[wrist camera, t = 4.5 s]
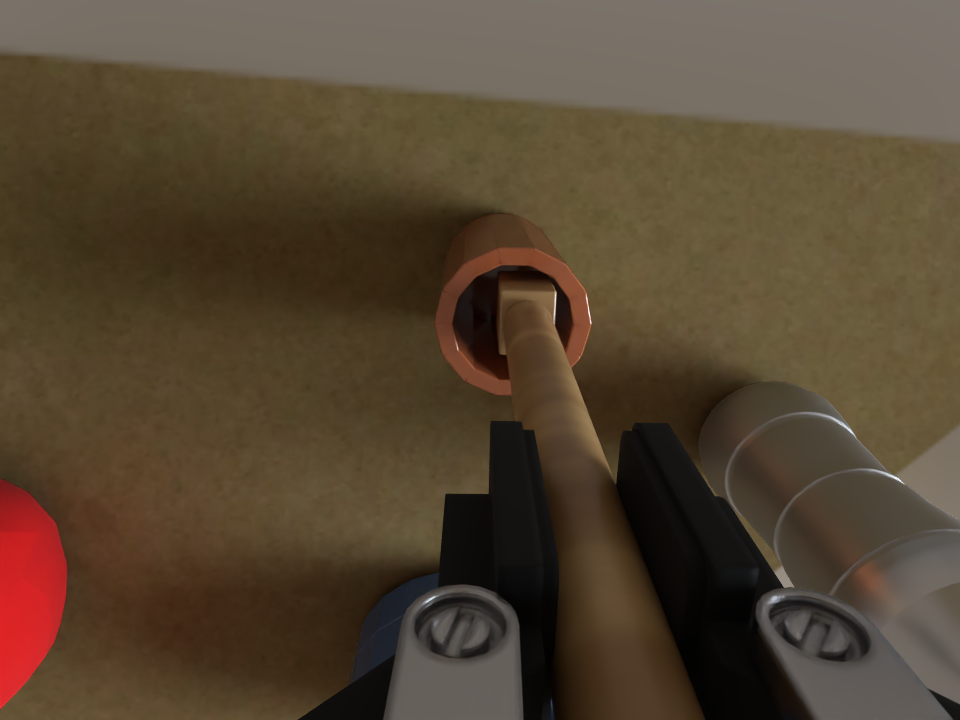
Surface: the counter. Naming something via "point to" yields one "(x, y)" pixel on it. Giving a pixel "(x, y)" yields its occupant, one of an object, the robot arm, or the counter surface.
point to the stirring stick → (587, 535)
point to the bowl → (389, 626)
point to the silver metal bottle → (841, 520)
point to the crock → (474, 296)
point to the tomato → (27, 587)
